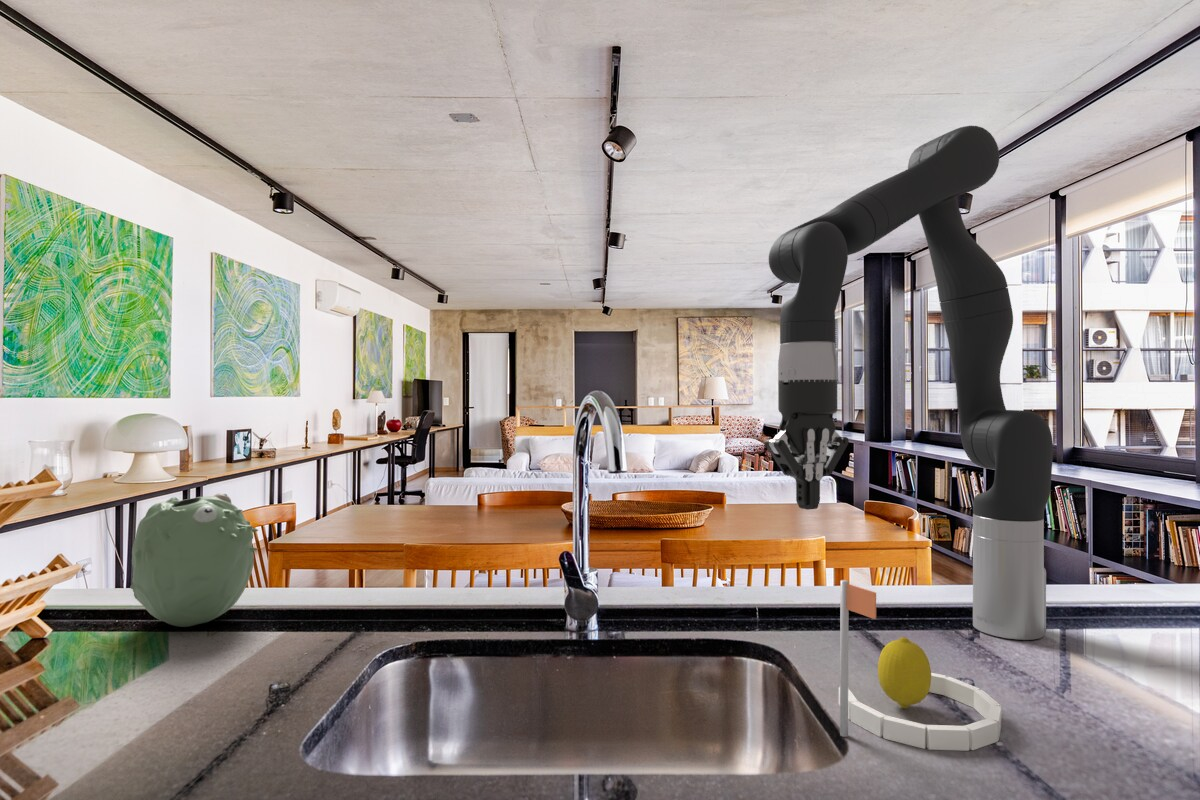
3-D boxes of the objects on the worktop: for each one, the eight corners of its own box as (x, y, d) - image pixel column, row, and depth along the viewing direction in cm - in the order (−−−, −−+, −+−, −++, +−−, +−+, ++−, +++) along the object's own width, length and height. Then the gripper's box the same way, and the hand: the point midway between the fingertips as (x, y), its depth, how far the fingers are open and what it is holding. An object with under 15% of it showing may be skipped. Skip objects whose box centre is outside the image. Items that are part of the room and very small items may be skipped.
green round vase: (172, 606, 116) (172, 486, 116) (279, 610, 114) (279, 488, 114) (94, 638, 100) (94, 500, 100) (216, 644, 98) (216, 503, 98)
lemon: (938, 721, 75) (938, 647, 75) (884, 717, 76) (884, 644, 76) (923, 699, 81) (923, 630, 81) (873, 695, 82) (872, 628, 82)
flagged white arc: (922, 681, 86) (922, 552, 86) (1033, 729, 74) (1034, 578, 73) (802, 713, 77) (802, 569, 77) (906, 773, 65) (906, 601, 65)
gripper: (823, 379, 98) (824, 501, 99) (749, 378, 92) (750, 508, 93) (865, 377, 92) (866, 508, 92) (788, 376, 86) (789, 517, 86)
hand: (807, 508), depth 92 cm, fingers closed
